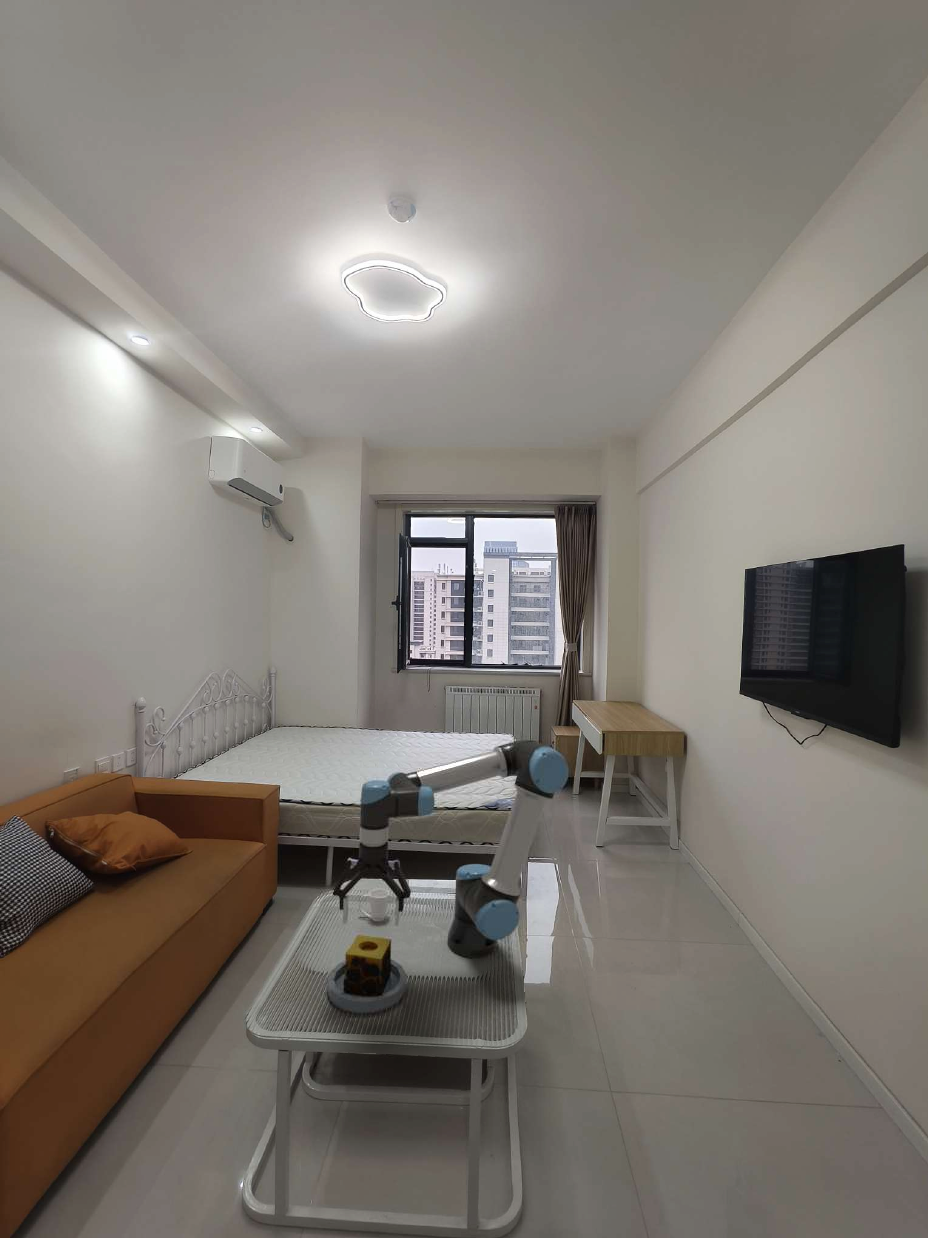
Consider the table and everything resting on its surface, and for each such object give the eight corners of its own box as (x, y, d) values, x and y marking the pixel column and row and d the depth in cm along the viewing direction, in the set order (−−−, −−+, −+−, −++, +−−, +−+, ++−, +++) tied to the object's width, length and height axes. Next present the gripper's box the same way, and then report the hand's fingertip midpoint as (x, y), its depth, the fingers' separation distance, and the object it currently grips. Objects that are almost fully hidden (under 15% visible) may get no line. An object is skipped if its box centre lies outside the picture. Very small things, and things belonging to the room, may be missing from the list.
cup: (386, 924, 187) (387, 899, 187) (355, 921, 188) (357, 896, 188) (390, 913, 194) (392, 889, 194) (361, 911, 195) (362, 886, 195)
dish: (408, 968, 164) (409, 957, 164) (400, 1015, 144) (401, 1003, 144) (337, 964, 164) (337, 954, 164) (319, 1012, 144) (320, 999, 144)
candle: (380, 999, 148) (382, 960, 148) (342, 993, 150) (344, 954, 150) (391, 976, 158) (393, 939, 158) (355, 970, 160) (357, 934, 160)
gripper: (422, 838, 158) (419, 917, 158) (329, 834, 158) (327, 913, 158) (420, 848, 151) (417, 931, 150) (323, 845, 151) (320, 928, 150)
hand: (371, 922), depth 154 cm, fingers open, 13 cm apart
